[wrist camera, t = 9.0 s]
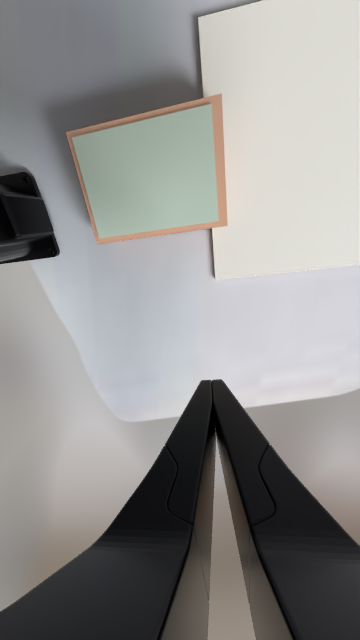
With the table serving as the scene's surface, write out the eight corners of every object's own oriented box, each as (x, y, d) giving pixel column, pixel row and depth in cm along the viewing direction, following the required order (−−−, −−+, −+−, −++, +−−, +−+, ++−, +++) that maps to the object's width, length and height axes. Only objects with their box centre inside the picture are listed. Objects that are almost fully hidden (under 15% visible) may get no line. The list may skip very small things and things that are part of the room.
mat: (215, 278, 20) (215, 280, 20) (198, 23, 14) (198, 17, 13) (411, 257, 18) (416, 258, 18) (505, -56, 11) (517, -67, 11)
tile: (225, 224, 18) (110, 240, 19) (220, 111, 15) (85, 143, 17) (227, 226, 15) (96, 244, 17) (221, 91, 12) (64, 131, 14)
